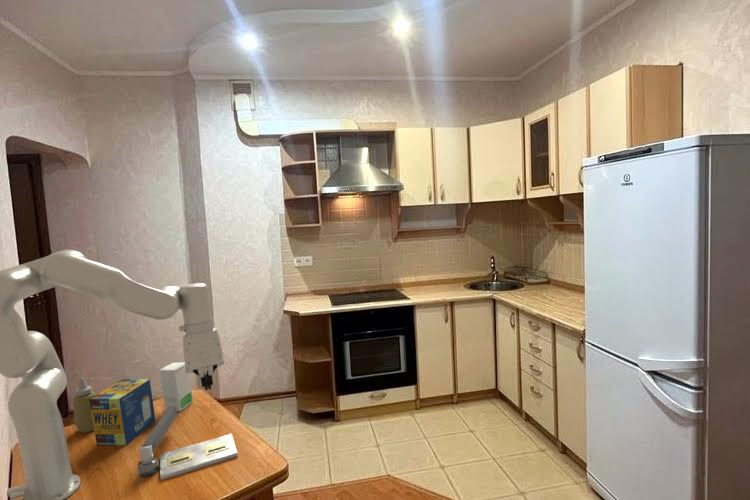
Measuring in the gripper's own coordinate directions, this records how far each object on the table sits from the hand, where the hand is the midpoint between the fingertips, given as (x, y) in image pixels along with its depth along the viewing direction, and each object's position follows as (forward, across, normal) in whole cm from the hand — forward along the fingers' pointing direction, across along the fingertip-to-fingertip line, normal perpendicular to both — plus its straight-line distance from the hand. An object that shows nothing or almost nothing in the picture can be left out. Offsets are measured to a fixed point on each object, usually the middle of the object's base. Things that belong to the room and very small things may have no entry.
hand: (207, 387), depth 129 cm
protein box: (+20, -25, +29) cm, 42 cm away
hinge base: (+19, -18, 0) cm, 26 cm away
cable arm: (+16, -14, +10) cm, 24 cm away
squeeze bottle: (+19, -36, +40) cm, 57 cm away
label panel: (+20, -5, -1) cm, 20 cm away
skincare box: (+20, -8, +40) cm, 45 cm away
